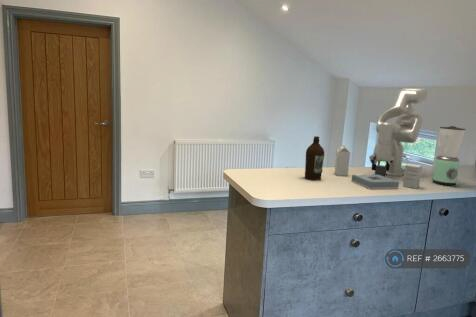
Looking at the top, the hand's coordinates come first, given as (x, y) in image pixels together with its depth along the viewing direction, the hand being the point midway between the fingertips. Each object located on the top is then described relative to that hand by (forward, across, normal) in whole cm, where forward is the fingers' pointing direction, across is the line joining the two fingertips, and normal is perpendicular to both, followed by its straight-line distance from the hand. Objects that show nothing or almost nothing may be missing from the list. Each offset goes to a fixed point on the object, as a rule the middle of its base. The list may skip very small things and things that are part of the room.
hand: (380, 170), depth 224 cm
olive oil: (+7, +44, -3) cm, 45 cm away
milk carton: (+6, +19, -13) cm, 24 cm away
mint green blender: (+5, -36, +13) cm, 39 cm away
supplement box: (+6, -7, +19) cm, 21 cm away
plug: (+5, -1, -1) cm, 5 cm away
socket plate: (+6, +14, +14) cm, 21 cm away
